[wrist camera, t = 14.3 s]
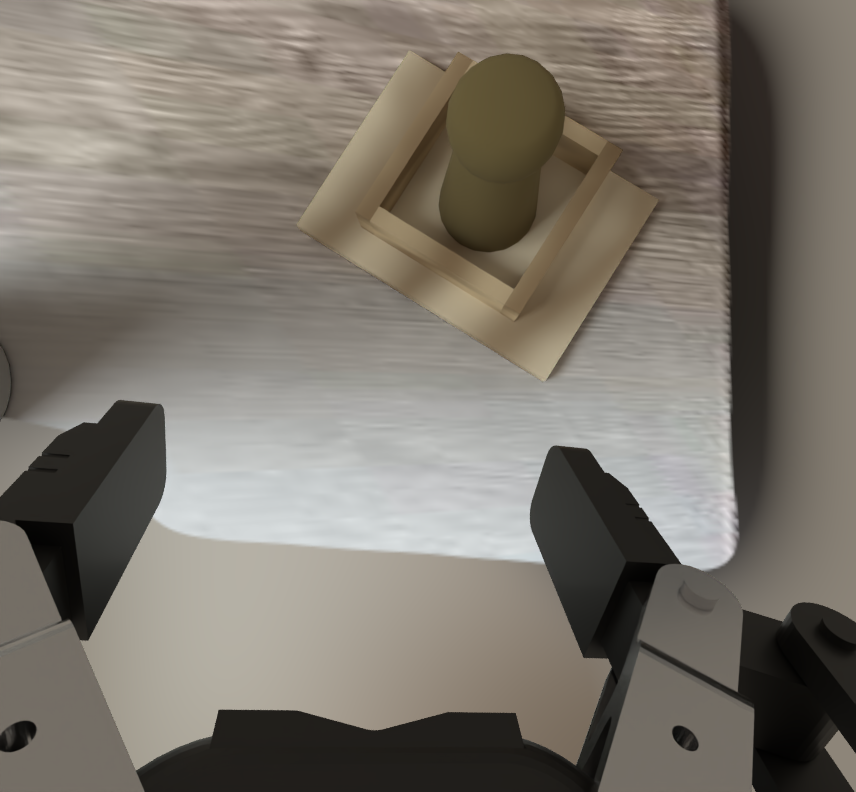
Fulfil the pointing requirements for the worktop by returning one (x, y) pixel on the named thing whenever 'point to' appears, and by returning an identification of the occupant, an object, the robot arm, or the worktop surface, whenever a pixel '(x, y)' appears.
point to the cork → (498, 150)
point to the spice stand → (456, 264)
